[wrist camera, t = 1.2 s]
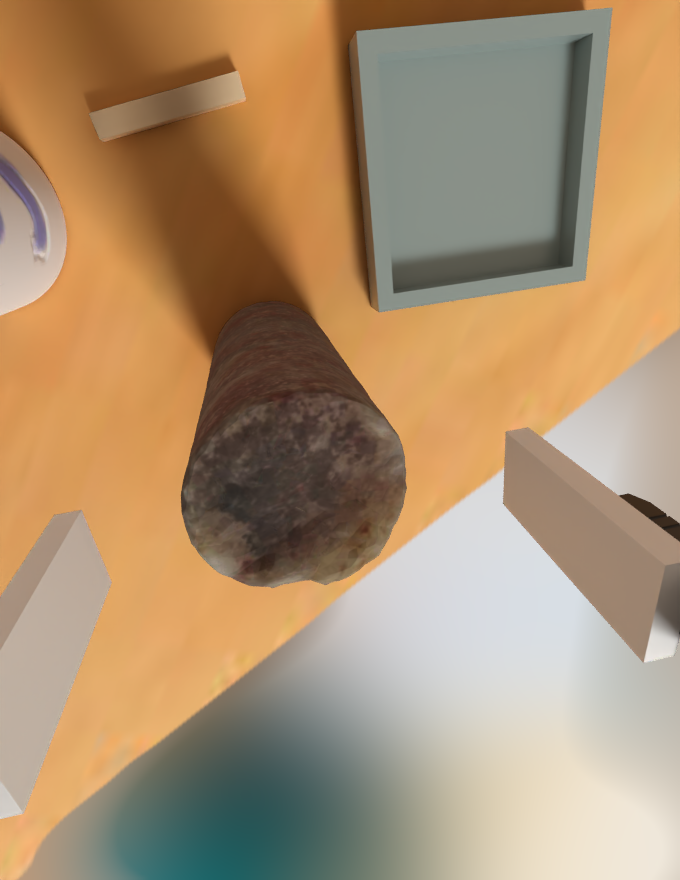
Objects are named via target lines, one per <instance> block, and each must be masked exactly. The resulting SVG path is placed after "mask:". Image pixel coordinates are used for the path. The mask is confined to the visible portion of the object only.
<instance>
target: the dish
mask: <svg viewBox="0 0 680 880" xmlns="http://www.w3.org/2000/svg"><path fill="white" fill-rule="evenodd" d="M611 17H612V8H604V9H593V10H582V11H571V12H560V13H549V14H538V15H528V16H517V17H506V18H495V19H484V20H473V21H462V22H451V23H440V24H429V25H418V26H407V27H396V28H385V29H374V30H363V31H356V33H355V34H354V36H353V38H352V39H351V41H350V43H349V44H348V50H349V61H350V72H351V84H352V95H353V107H354V118H355V130H356V141H357V152H358V164H359V175H360V187H361V198H362V209H363V221H364V232H365V244H366V255H367V266H368V278H369V289H370V301H371V307H372V308H374V309H375V310H376V311H378V312H385V311H391V310H398V309H404V308H411V307H417V306H423V305H430V304H436V303H443V302H449V301H455V300H462V299H468V298H475V297H481V296H487V295H494V294H500V293H507V292H513V291H519V290H526V289H532V288H539V287H545V286H551V285H558V284H564V283H571V282H577V281H584V280H585V278H586V268H587V258H588V248H589V238H590V228H591V218H592V208H593V198H594V188H595V178H596V168H597V157H598V147H599V137H600V127H601V117H602V107H603V97H604V87H605V77H606V67H607V57H608V47H609V37H610V27H611Z"/></svg>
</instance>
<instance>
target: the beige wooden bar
mask: <svg viewBox="0 0 680 880" xmlns="http://www.w3.org/2000/svg"><path fill="white" fill-rule="evenodd" d="M245 101H246V96H245V93H244V90H243V86H242V83H241V79H240V76H239V73H238V71H235V72H231V73H228V74H224V75H221V76H217V77H214V78H210V79H207V80H203V81H200V82H196V83H193V84H189V85H186V86H182V87H179V88H175V89H172V90H168V91H165V92H161V93H158V94H154V95H151V96H147V97H144V98H140V99H137V100H133V101H130V102H126V103H123V104H119V105H116V106H112V107H109V108H105V109H102V110H98V111H95V112H91V113H89V116H90V118H91V120H92V123H93V125H94V127H95V130H96V132H97V135H98V137H99V139H100V140H101V141H103V142H106V141H109V140H113V139H116V138H120V137H123V136H127V135H130V134H134V133H137V132H141V131H144V130H148V129H151V128H154V127H158V126H161V125H165V124H168V123H172V122H175V121H179V120H182V119H186V118H189V117H193V116H196V115H200V114H203V113H207V112H210V111H213V110H217V109H220V108H224V107H227V106H231V105H234V104H238V103H241V102H245Z"/></svg>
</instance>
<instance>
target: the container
mask: <svg viewBox="0 0 680 880" xmlns="http://www.w3.org/2000/svg"><path fill="white" fill-rule="evenodd" d="M66 245H67V234H66V225H65V219H64V215H63V211H62V208H61V205H60V202H59V200H58V197H57V195H56V193H55V191H54V189H53V187H52V185H51V183H50V182H49V180H48V178H47V177H46V175H45V174H44V173H43V171H42V170H41V168H40V167H39V166H38V164H37V163H36V162H35V161H34V160H33V159H32V158H31V156H30V155H29V154H28V153H27V152H26V151H25V150H24V149H23V148H21V147H20V146H19V145H18V144H17V143H16V142H15V141H13V140H12V139H11V138H9V137H8V136H7V135H5V134H4V133H2V132H1V131H0V315H3V314H6V313H8V312H11V311H13V310H16V309H18V308H21V307H23V306H26V305H28V304H30V303H32V302H33V301H35V300H36V299H38V298H39V297H41V296H42V295H43V294H44V293H45V292H46V291H47V290H48V289H49V288H50V287H51V286H52V284H53V283H54V282H55V280H56V278H57V277H58V275H59V273H60V271H61V268H62V265H63V262H64V259H65V254H66Z"/></svg>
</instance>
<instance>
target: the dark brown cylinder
mask: <svg viewBox="0 0 680 880" xmlns="http://www.w3.org/2000/svg"><path fill="white" fill-rule="evenodd" d="M405 479H406V468H405V456H404V452H403V448H402V444H401V441H400V439H399V436H398V434H397V433H396V432H395V430H394V429H393V428H392V426H391V425H390V423H389V422H388V421H387V419H386V418H385V416H384V415H383V414H382V413H381V411H380V410H379V409H378V408H377V406H376V405H375V404H374V403H373V401H372V400H371V399H370V397H369V396H368V394H367V392H366V391H365V389H364V388H363V386H362V385H361V384H360V383H359V381H358V380H357V379H356V378H355V376H354V375H353V374H352V372H351V370H350V369H349V367H348V366H347V364H346V363H345V362H344V360H343V359H342V358H341V356H340V355H339V353H338V352H337V351H336V349H335V348H334V346H333V345H332V343H331V342H330V340H329V339H328V337H327V336H326V335H325V333H324V332H323V331H322V329H321V328H320V327H319V325H318V324H317V323H316V322H315V320H314V319H313V318H312V317H311V316H309V315H308V314H307V313H305V312H304V311H302V310H301V309H299V308H298V307H295V306H293V305H291V304H287V303H284V302H280V301H269V302H260V303H256V304H253V305H250V306H248V307H245V308H243V309H241V310H239V311H238V312H237V313H236V314H234V315H233V316H232V317H231V318H230V319H229V320H228V322H227V323H226V324H225V325H224V327H223V329H222V330H221V332H220V334H219V337H218V340H217V343H216V346H215V350H214V354H213V358H212V363H211V367H210V373H209V377H208V381H207V388H206V392H205V396H204V401H203V404H202V408H201V412H200V416H199V421H198V424H197V428H196V433H195V438H194V442H193V445H192V449H191V453H190V457H189V462H188V465H187V468H186V472H185V476H184V480H183V485H182V491H181V507H182V515H183V519H184V523H185V527H186V530H187V532H188V535H189V538H190V541H191V543H192V545H193V546H194V547H195V548H196V550H197V551H198V553H199V554H200V556H201V557H202V558H203V559H204V560H205V561H206V562H207V563H208V564H209V565H210V566H211V567H212V568H214V569H215V570H216V571H217V572H219V573H220V574H222V575H225V576H228V577H231V578H233V579H235V580H237V581H239V582H241V583H244V584H246V585H249V586H261V587H271V588H275V587H277V586H280V585H283V584H289V583H294V582H299V581H305V580H312V581H315V582H318V583H321V584H324V585H327V584H329V583H331V582H334V581H340V580H342V579H345V578H347V577H349V576H351V575H352V574H354V573H355V572H357V571H358V570H360V569H361V568H362V567H363V566H364V565H365V564H367V563H368V562H370V561H371V560H373V559H375V558H376V557H377V556H379V554H380V553H381V551H382V549H383V547H384V546H385V544H386V542H387V541H388V539H389V537H390V534H391V531H392V529H393V527H394V525H395V524H396V522H397V520H398V518H399V516H400V513H401V510H402V507H403V504H404V497H405V493H406V489H407V487H406V482H405Z"/></svg>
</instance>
